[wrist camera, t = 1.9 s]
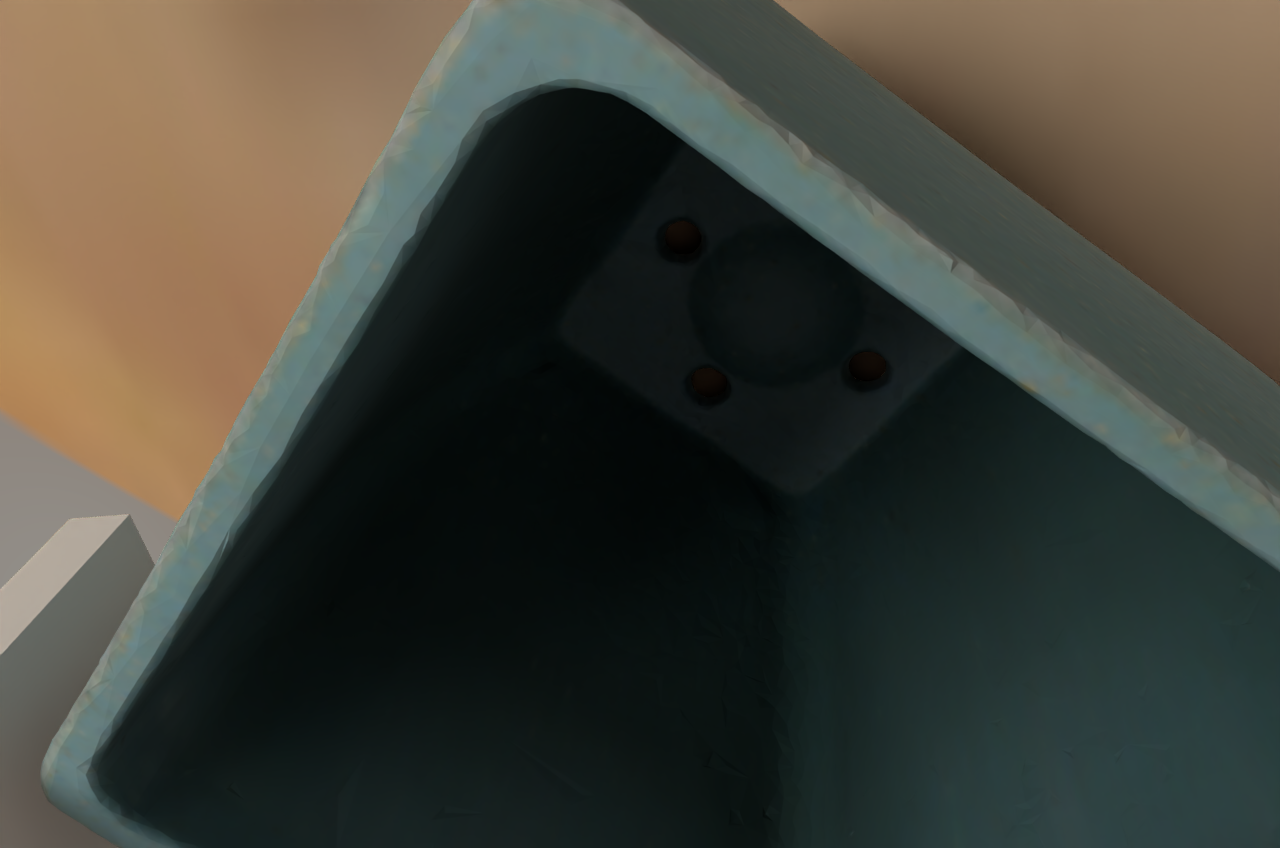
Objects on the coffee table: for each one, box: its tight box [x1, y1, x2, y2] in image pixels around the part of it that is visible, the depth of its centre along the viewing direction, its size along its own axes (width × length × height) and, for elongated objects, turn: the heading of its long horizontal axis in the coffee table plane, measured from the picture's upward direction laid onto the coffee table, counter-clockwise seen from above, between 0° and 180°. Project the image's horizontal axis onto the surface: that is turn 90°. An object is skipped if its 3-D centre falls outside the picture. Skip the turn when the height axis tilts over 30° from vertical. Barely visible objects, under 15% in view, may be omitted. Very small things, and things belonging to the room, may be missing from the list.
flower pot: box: [40, 0, 1280, 848], centre depth 12 cm, size 9×9×9 cm
